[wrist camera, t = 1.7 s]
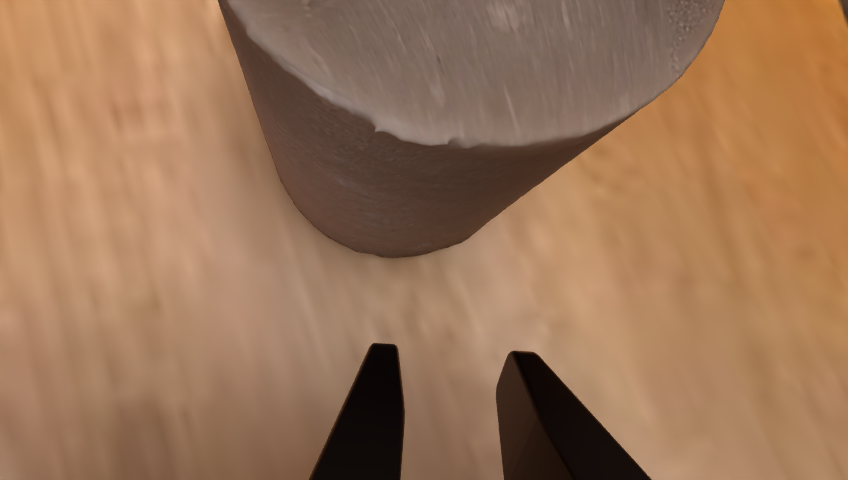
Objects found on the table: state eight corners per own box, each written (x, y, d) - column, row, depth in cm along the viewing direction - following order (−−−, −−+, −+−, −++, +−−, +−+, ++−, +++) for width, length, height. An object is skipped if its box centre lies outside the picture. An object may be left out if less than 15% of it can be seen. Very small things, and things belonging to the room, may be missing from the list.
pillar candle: (518, 54, 24) (805, -375, 10) (497, 278, 22) (810, 173, 8) (290, 9, 23) (213, -570, 8) (248, 243, 21) (56, 37, 6)
